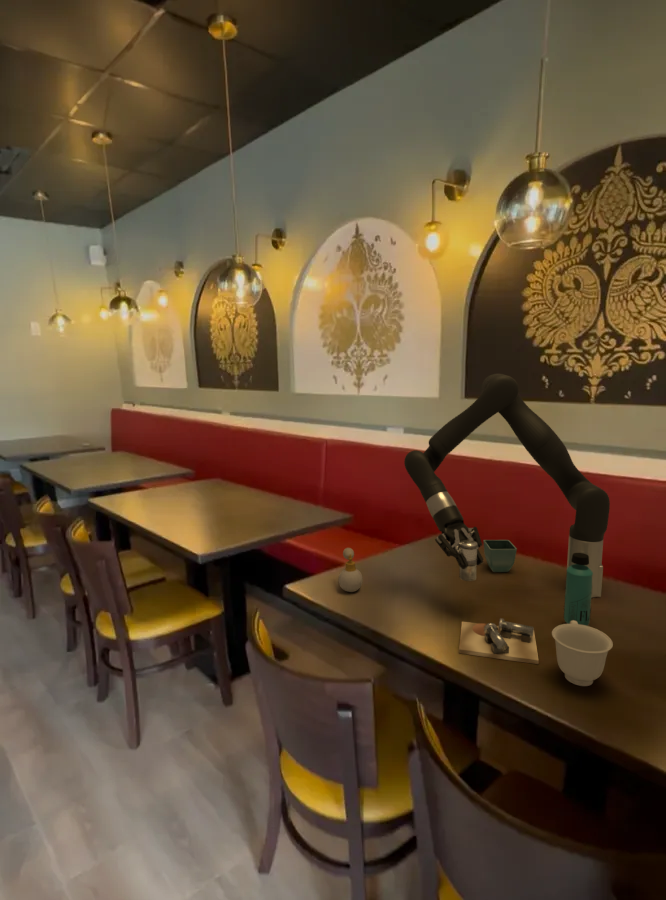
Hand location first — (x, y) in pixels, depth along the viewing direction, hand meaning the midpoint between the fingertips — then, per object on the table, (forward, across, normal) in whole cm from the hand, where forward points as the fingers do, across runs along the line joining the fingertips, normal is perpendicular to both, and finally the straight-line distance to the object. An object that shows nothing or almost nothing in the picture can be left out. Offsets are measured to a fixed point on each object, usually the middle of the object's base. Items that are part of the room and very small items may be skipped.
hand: (473, 565), depth 140 cm
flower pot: (-3, +32, +26) cm, 41 cm away
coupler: (+2, 0, +4) cm, 5 cm away
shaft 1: (+20, -5, 0) cm, 21 cm away
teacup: (+33, +3, -10) cm, 35 cm away
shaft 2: (+20, +2, +1) cm, 20 cm away
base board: (+20, -3, +2) cm, 20 cm away
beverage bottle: (+23, +21, 0) cm, 31 cm away
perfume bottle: (-13, -19, +35) cm, 42 cm away
